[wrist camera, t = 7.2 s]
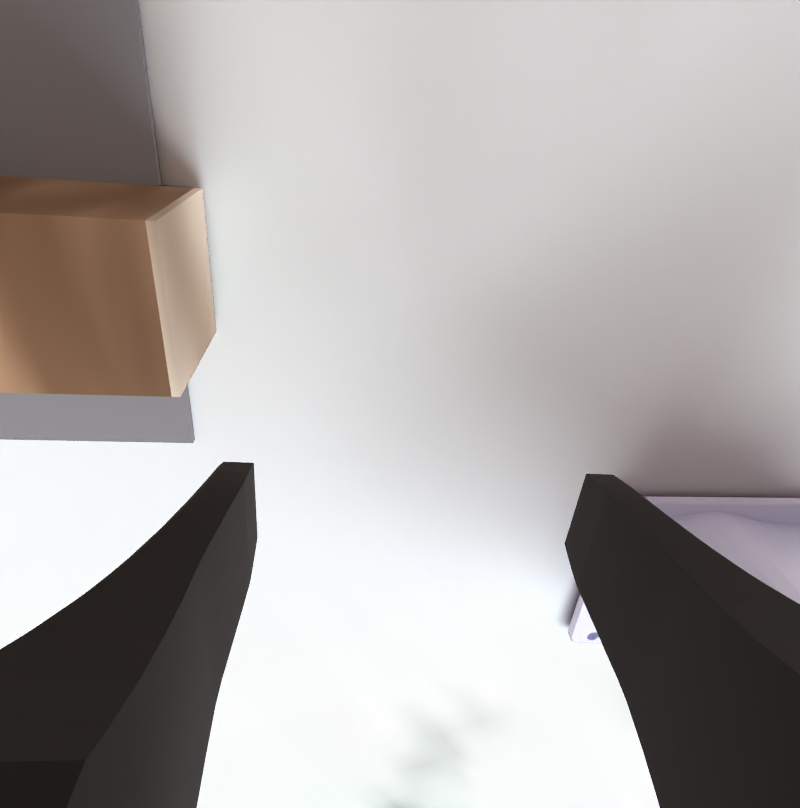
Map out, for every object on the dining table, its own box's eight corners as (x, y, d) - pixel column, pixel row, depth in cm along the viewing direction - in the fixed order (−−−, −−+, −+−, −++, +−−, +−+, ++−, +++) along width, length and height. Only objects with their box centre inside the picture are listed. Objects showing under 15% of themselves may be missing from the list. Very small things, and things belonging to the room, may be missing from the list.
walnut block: (155, 221, 11) (-236, 199, 10) (180, 397, 13) (-147, 389, 12) (202, 188, 15) (-89, 170, 14) (216, 331, 16) (-38, 321, 16)
